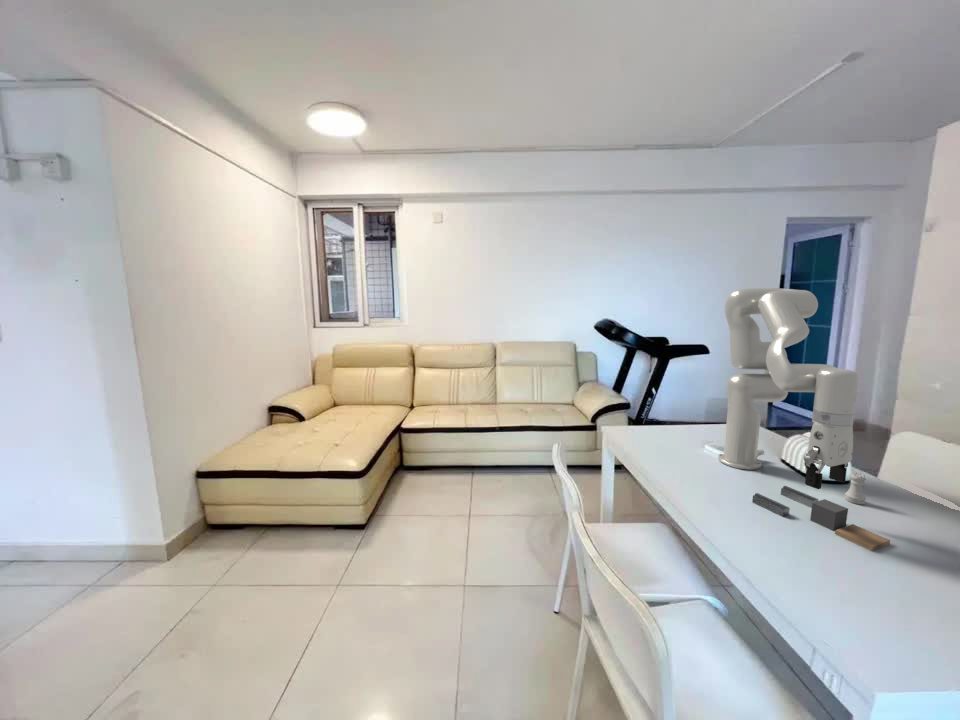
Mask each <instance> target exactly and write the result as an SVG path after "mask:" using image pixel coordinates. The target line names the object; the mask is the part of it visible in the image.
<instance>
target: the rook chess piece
mask: <svg viewBox="0 0 960 720" xmlns="http://www.w3.org/2000/svg"><path fill="white" fill-rule="evenodd" d="M849 476H850V478H851V480H850V486H849V488H848V489H847V491H846V492H844V499H845V501H847V502H849V503H851V504H853V505H854V504H855V505H859V504H860V505H862V506H863V505H864V504H866V503H867V502H866V499H867V498H866V496H865V494H864V485H865V483H864V482H865V481H867V478H866V475H865V474H862V473H858V474H857V472H852V474H850V475H849ZM860 505H859V506H860Z"/></svg>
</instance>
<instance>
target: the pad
mask: <svg viewBox="0 0 960 720" xmlns="http://www.w3.org/2000/svg"><path fill="white" fill-rule="evenodd" d="M834 534H835V535H837V536H839V537H841V538H843V539H845V540H847V541H850V542H852V543H854V544H856V545H858V546H860V547H862V548H864V549H867V550H869V551H871V552H873V551H875V550H878V549H881V548H884V547H886V546H889V545H890V544H891V540H890V539H888V538H887V537H884V536H881V535H879V534H878V533H877V534H876V533H875V532H873V531H869V530H867V529H865V528H863V527H861V526H859V525H856V524H853V523H852V524H848V525H846V527H843V528H840V529H837V530H835V532H834Z"/></svg>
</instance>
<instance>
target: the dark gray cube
mask: <svg viewBox="0 0 960 720" xmlns="http://www.w3.org/2000/svg"><path fill="white" fill-rule="evenodd" d="M848 513H849V508H847V507H846V506H844V505H843V506H842V505H841V504H838V503H835V502H833V501H830V500H828V499H825V498H823V499H819V500H818V501H817V502H813V503H812V508H811V511H810V517H809V518H810V519H809V521H810V522H813V523H814V524H816V525H819V526H822V527H823V528H826V529H827V530H830V531H832V532H834V531H835V530H837V529H840V528H843V527H846V526H847V520H848Z"/></svg>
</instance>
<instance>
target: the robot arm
mask: <svg viewBox="0 0 960 720" xmlns="http://www.w3.org/2000/svg"><path fill="white" fill-rule="evenodd" d="M818 308H819V302H818V299H817V297H816V296H815V294H814V293H812V292H811V291H809V290H806V289H793V288H779V287H777V288H770V287H769V288H761V287H760V288H758V287H757V288H742V289H736V290H735V291H732V292H731V293H729V294H728V296H727V298H726V301H725V305H724V314H725V319H726V321H727V324H728V328H729V329H728V330H729V349H730V361H731V364H732V366H733V367H734V368H735V369H738V370H750V371H752V370H753V371H754V370H755V371H756V370H758V371H759V370H761V371H763V373H738V374H737V373H736V374H733V375H731V376H730V377H729V378H728V379H727V381H726V395H727V396H726V397H727V414H726V422H725V423H726V424H725V433H724V435H725V437H724V446H723V453H724V454H721V453H719V454H718V455H717V456H718V457H717V459H718V461H719V462H721V463H722V464H724V465H726V466H727V467H728V466H729V467H732V468H735V469H739V470H748V471H749V470H752V471H755V470H759V469H761V468H762V462H761V461H760V460H759V459H758V457H759V456H764V455H765V450H763V449H758V446H759V437H760V428H761V420H762V417H761V416H762V415H761V413H760V411H759V409H758V407H757V406H756V403H775V402H776V403H778V402H779V403H780V402H782V401H784V400H786V398H787V396H788V395H789V393H814V398H813V407H812V408H813V409H812V417H811V422H812V423H813V424H812V427H811V430H810V434H809V439H808V447H807V453H805V454H804V455H803V461H804V463H803V464H804V467H805V468H804V469H805V479H804V485H806V486H809V487H811V488H813V489H816V490H821V489H822V483H823V473H821V472H822V471H823V469H824V467H825V466H827V467H829V475H828V478H829V480H834V481H836V482H839V483H841V484H844V483H845V482H846V479H847V470H848V467H849V463H850V462H852V460H853V450H854V428H853V426H854V418H855V411H856V410H855V408H856V399H857V394H858V393H857V391H858V384H859V374H858V373H857V372H856V371H855V370H851V369H847V368H846V369H845V368H838V367H836V366H833V365H831V364H823V363H791V362H790V360H789V359H788V354H787V351H786V349H785V348H789V347H790V346H793V345H797V344H799V343H800V342H802V341H803V340H805V339H806V338H807V337H808V335H809V334H810V328H809V326H808V324H807V322H806V321H805V319H808V318H811V317H813V316H814V315H815V314H816V313H817V310H818ZM751 315H761V316H762V319H763V321H764V323H765V325H766V327H767V330H768V331H769V334H770V336H771V338H772V341H761V331H760V327H759V325H758V323H757V322H756V321H755V320H754V318H752V316H751ZM817 465H818V466H817Z"/></svg>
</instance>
